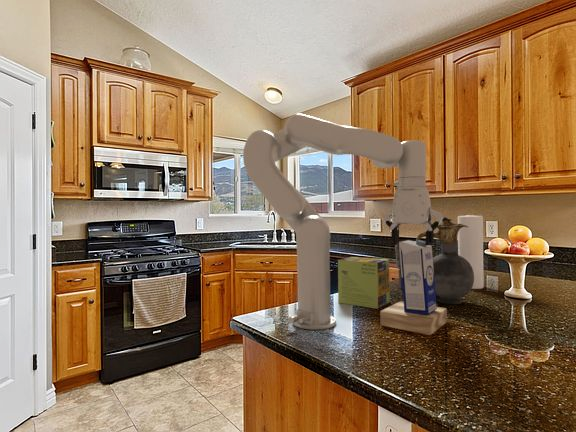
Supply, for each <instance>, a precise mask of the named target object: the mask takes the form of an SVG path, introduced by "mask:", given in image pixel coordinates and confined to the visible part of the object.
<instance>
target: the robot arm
mask: <svg viewBox="0 0 576 432" xmlns="http://www.w3.org/2000/svg"><path fill="white" fill-rule="evenodd" d="M305 147H307V148H311V149H314V150H318V151H321V152H324V153H328V154H330V155H337V156H340V155H341V156H342V155H352V156H359V157H363V158H367V159H369V160H370V163H371V164H372V165H373V166H374V167H376V168H378V169H390V168H396V167H397V168H398V169H397V170H398V171H397V180H396V181H394V182H393V186H394V187H397V189H395V190H394V194H393V200H392V208H391V209H392V210H390V211H388V212H386V213H384V214H383V215H382V217H383V220H384V221H385V224H386V226H387V227H388V228H389V230H390V231H391V235H390V236H391V237H390V238H391V241H392V244H395V245H397V244H399V242H400V230H399V229H398V228H399V227H400V226H401V225H423V226H424V227H425V228H426V231H425V232H426V236H425V242H426V245H427V246H429V245H430V246H433V243H434V233H435V232H434V231H435V230H436V229H438V228H437V227H438V226H439V225H441V223H442V222H443V221H442V219H443V218H444V217H445V216H444V215H443V214H441V213H440V212H439V211H436V210H434V209H432V204H431V203H432V202H431V196H430V192H429V189H428V188H427V185H426V184H427V180H426V179H427V160H426V159H427V147H426V143H425V142H424V141H423V140H419V139H418V140H417V139H416V140H415V139H413V140H410V139H409V140H405V141H402V142H401V141H400V140H399V139H398V138H396V137H395V136H392V135H389V134H386V133H383V132H378V131H376V130H372V129H368V128H367V129H366V128H361V127H354V126H348V125H341V124H338V123H334V122H331V121H328V120H325V119H324V120H323V119H321V118H318V117H314V116H312V115H311V116H310V115H306V114H303V113H295V114H292V115H291V116H289V117H288V119H287V120H286V121H285V125H284V128H282V129H280V130H278V131H276V132H274V133H272V132H271V131H268V130H265V129H258V130H255V131H253V132H252V133H251V134H250V135H248V138H247V139H246V141H245V144H244V147H243V153H242V159H243V161H242V162H243V165H244V169H245V171H246V174H247V177H249V179H250V181H252V183H253V184H254V186H255V187H256V188H257V189H258V191H259V192H260V193H261V194H262V196H263V197H264V198H265V199H266V201H267V202H268V203H269V205H270V206H271V207H272V209H273V210H274V211H275V212H276V213H275V214H277V215H278V216H279V217H280V218H282V219H283V220H284V221H285V222H286V223H287V225H289V227H290V228H291V229H292V230H293V231H294V232H295V237H296V238H295V243H296V269H297V270H296V271H297V276H296V277H297V278H296V279H297V309H296V311H295V312H296V313H295V314H294V315H292V316H289V317H288V318H287V319H288V323H289V324H290V325H291V324H292V325H294V326H295V327H297V328H299V329H305V330H311V331H314V330H315V331H317V330H326V329H330V328H333V327H335V326H336V324H337V319H336V318H335V317H334V316H333V315H331V308H332V307H331V266H330V262H331V261H330V256H331V255H330V254H331V253H330V252H331V251H330V250H331V248H330V247H331V246H330V245H331V232H330V227H329V224H328V222H327V221H326V220H325V219H324V218H323V217H322V216H321V215H320V214H319V213H318V211H317V210H316V209H315V208H314V207H313V205H311V204H310V202H309V201H308V199H307V198H305V196H304V195H303V193H302V192H300V191H299V190H298V189H297V188H296V187H295V186H294V185H293V184H292V183H291V182H290V180H288V179H287V177H286V176H285V174H284V173H283V172H282V171H281V170H280V169H279V167H278V166H277V164H276V162H278V161H280V160H283V159H284V158H286V157H289V156H290V155H292V154H295V153H297V152H298V151H300V150H303V149H304V148H305ZM432 216H433V217H434V218H436V219H435V220H434V222H431V221H432ZM390 218H391V219H390Z"/></svg>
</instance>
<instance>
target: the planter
mask: <svg viewBox="0 0 576 432" xmlns="http://www.w3.org/2000/svg"><path fill="white" fill-rule="evenodd" d="M394 250H395V262H396V263H395V264H396V265H395V266H396V269H397V270H398V287H399V289H401V290H403V287H402V274H401V261H400V248H399V244H395V245H394Z"/></svg>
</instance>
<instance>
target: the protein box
mask: <svg viewBox="0 0 576 432" xmlns="http://www.w3.org/2000/svg"><path fill="white" fill-rule="evenodd" d="M337 280H338V281H337V292H338V293H337V294H338V296H337V297H338V299H337V302H338V304H339V303H340V304H345V305H352V306H359V307H364V308H371V309H377V310H378V309H380V308H381V307H384V306H386V305H387V304H389V303H390V302H391V301H390V298H391V297H390V296H391V295H390V293H391V292H390V259H387V258H374V257H373V258H371V257H359V256H350V257H346V258H341V259H338V260H337Z"/></svg>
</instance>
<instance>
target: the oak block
mask: <svg viewBox="0 0 576 432" xmlns="http://www.w3.org/2000/svg"><path fill="white" fill-rule="evenodd" d="M436 307H437V309H436V310H435V311H433V312H431V313H430V314H428V315H427V314H417V313H407V312H404V301H401V300H400V301H398V302H396V303H394V304H392V305H390V306H388V307H385V308H384V309H382V310H380V312H379V316H380V317H379V318H380V322H379V323H380V326H382V327H388V328H393V329H398V330H402V331H407V332H413V333H418V334H422V335H427V336H431V335H432V334H434V333H435V332H437V330H439V329H440V328H441V327H443V326H444V325H445V324H447V323H448V313H447V312H448V309H447V308H446V307H440V306H436Z"/></svg>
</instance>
